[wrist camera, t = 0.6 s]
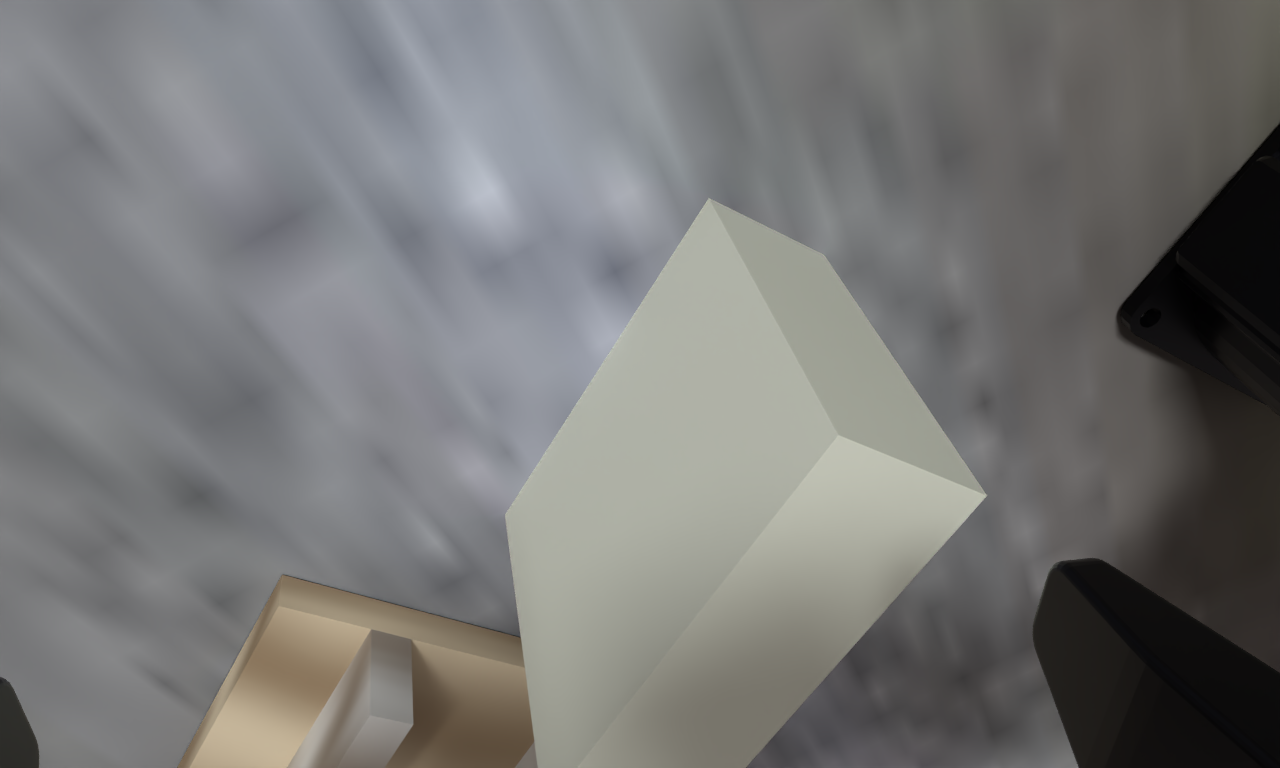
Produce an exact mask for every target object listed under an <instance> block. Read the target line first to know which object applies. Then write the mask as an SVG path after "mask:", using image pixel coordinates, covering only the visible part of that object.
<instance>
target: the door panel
mask: <svg viewBox="0 0 1280 768" xmlns="http://www.w3.org/2000/svg"><path fill="white" fill-rule="evenodd" d="M986 496H987V495H986V493H985V492H984V490H983V489H982V487H981V486H980V485H979V483H978V482H977V480H976V479H975V477H974V476H973V474H972V473H971V471H970V470H969V468H968V467H967V465H966V464H965V462H964V461H963V459H962V458H961V456H960V455H959V454H958V452H957V451H956V449H955V448H954V446H953V445H952V443H951V442H950V440H949V439H948V437H947V436H946V434H945V433H944V431H943V430H942V428H941V427H940V425H939V424H938V423H937V421H936V420H935V418H934V417H933V415H932V414H931V412H930V411H929V409H928V408H927V406H926V405H925V403H924V402H923V400H922V399H921V397H920V396H919V394H918V393H917V392H916V390H915V389H914V387H913V386H912V384H911V383H910V381H909V380H908V378H907V377H906V375H905V374H904V372H903V371H902V369H901V368H900V366H899V365H898V363H897V362H896V361H895V359H894V358H893V356H892V355H891V353H890V352H889V350H888V349H887V347H886V346H885V344H884V343H883V341H882V340H881V338H880V337H879V335H878V334H877V332H876V331H875V330H874V328H873V327H872V325H871V324H870V322H869V321H868V319H867V318H866V316H865V315H864V313H863V312H862V310H861V309H860V307H859V306H858V304H857V303H856V301H855V300H854V299H853V297H852V296H851V294H850V293H849V291H848V290H847V288H846V287H845V285H844V284H843V282H842V281H841V279H840V278H839V276H838V275H837V273H836V272H835V270H834V269H833V268H832V266H831V265H830V263H829V262H828V260H827V259H826V257H825V256H824V255H823V254H821V253H819V252H817V251H815V250H813V249H811V248H809V247H807V246H805V245H803V244H801V243H799V242H797V241H795V240H793V239H791V238H789V237H787V236H785V235H783V234H781V233H778V232H776V231H774V230H772V229H770V228H768V227H766V226H764V225H762V224H760V223H758V222H756V221H754V220H752V219H750V218H748V217H746V216H744V215H742V214H740V213H738V212H736V211H734V210H732V209H730V208H728V207H726V206H724V205H722V204H720V203H718V202H716V201H714V200H712V199H710V198H709V199H708V200H707V202H706V203H705V205H704V206H703V208H702V210H701V211H700V213H699V214H698V216H697V217H696V219H695V220H694V222H693V224H692V225H691V227H690V228H689V230H688V231H687V233H686V234H685V236H684V238H683V239H682V241H681V242H680V244H679V245H678V247H677V248H676V250H675V251H674V253H673V255H672V256H671V258H670V259H669V261H668V262H667V264H666V265H665V267H664V269H663V270H662V272H661V273H660V275H659V276H658V278H657V279H656V281H655V283H654V284H653V286H652V287H651V289H650V290H649V292H648V293H647V295H646V297H645V298H644V300H643V301H642V303H641V304H640V306H639V307H638V309H637V311H636V312H635V314H634V315H633V317H632V318H631V320H630V321H629V323H628V325H627V326H626V328H625V329H624V331H623V332H622V334H621V335H620V337H619V338H618V340H617V342H616V343H615V345H614V346H613V348H612V349H611V351H610V352H609V354H608V356H607V357H606V359H605V360H604V362H603V363H602V365H601V366H600V368H599V370H598V371H597V373H596V374H595V376H594V377H593V379H592V380H591V382H590V384H589V385H588V387H587V388H586V390H585V391H584V393H583V394H582V396H581V398H580V399H579V401H578V402H577V404H576V405H575V407H574V408H573V410H572V412H571V413H570V415H569V416H568V418H567V419H566V421H565V422H564V424H563V425H562V427H561V429H560V430H559V432H558V433H557V435H556V436H555V438H554V439H553V441H552V443H551V444H550V446H549V447H548V449H547V450H546V452H545V453H544V455H543V457H542V458H541V460H540V461H539V463H538V464H537V466H536V467H535V469H534V471H533V472H532V474H531V475H530V477H529V478H528V480H527V481H526V483H525V485H524V486H523V488H522V489H521V491H520V492H519V494H518V495H517V497H516V499H515V500H514V502H513V503H512V505H511V506H510V508H509V509H508V511H507V513H506V514H505V520H506V527H507V535H508V543H509V550H510V558H511V566H512V573H513V581H514V589H515V596H516V604H517V612H518V619H519V627H520V635H521V642H522V650H523V657H524V665H525V673H526V680H527V688H528V696H529V703H530V711H531V719H532V726H533V734H534V742H535V749H536V757H537V765H538V768H746V767H747V766H748V765H749V763H750V762H751V761H752V760H753V759H754V758H755V757H756V756H757V754H758V753H759V752H760V751H761V750H762V749H763V748H764V747H765V745H766V744H767V743H768V742H769V741H770V740H771V739H772V738H773V736H774V735H775V734H776V733H777V732H778V731H779V730H780V729H781V727H782V726H783V725H784V724H785V723H786V722H787V721H788V720H789V718H790V717H791V716H792V715H793V714H794V713H795V712H796V710H797V709H798V708H799V707H800V706H801V705H802V704H803V703H804V701H805V700H806V699H807V698H808V697H809V696H810V695H811V694H812V692H813V691H814V690H815V689H816V688H817V687H818V686H819V685H820V683H821V682H822V681H823V680H824V679H825V678H826V677H827V676H828V674H829V673H830V672H831V671H832V670H833V669H834V668H835V667H836V665H837V664H838V663H839V662H840V661H841V660H842V659H843V657H844V656H845V655H846V654H847V653H848V652H849V651H850V650H851V648H852V647H853V646H854V645H855V644H856V643H857V642H858V641H859V639H860V638H861V637H862V636H863V635H864V634H865V633H866V632H867V630H868V629H869V628H870V627H871V626H872V625H873V624H874V623H875V621H876V620H877V619H878V618H879V617H880V616H881V615H882V614H883V612H884V611H885V610H886V609H887V608H888V607H889V606H890V604H891V603H892V602H893V601H894V600H895V599H896V598H897V597H898V595H899V594H900V593H901V592H902V591H903V590H904V589H905V588H906V586H907V585H908V584H909V583H910V582H911V581H912V580H913V579H914V577H915V576H916V575H917V574H918V573H919V572H920V571H921V570H922V568H923V567H924V566H925V565H926V564H927V563H928V562H929V560H930V559H931V558H932V557H933V556H934V555H935V554H936V553H937V551H938V550H939V549H940V548H941V547H942V546H943V545H944V544H945V542H946V541H947V540H948V539H949V538H950V537H951V536H952V535H953V533H954V532H955V531H956V530H957V529H958V528H959V527H960V526H961V524H962V523H963V522H964V521H965V520H966V519H967V518H968V517H969V515H970V514H971V513H972V512H973V511H974V510H975V509H976V507H977V506H978V505H979V504H980V503H981V502H982V501H983V500H984V498H985V497H986Z"/></svg>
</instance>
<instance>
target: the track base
mask: <svg viewBox="0 0 1280 768" xmlns="http://www.w3.org/2000/svg"><path fill="white" fill-rule="evenodd" d="M177 768H538V765H537V757H536V749H535V742H534V734H533V726H532V719H531V711H530V703H529V696H528V688H527V680H526V673H525V665H524V657H523V650H522V642H521V638H520V637H516V636H512V635H508V634H505V633H501V632H497V631H493V630H490V629H486V628H482V627H478V626H474V625H471V624H467V623H463V622H459V621H455V620H452V619H448V618H444V617H440V616H437V615H433V614H429V613H425V612H421V611H418V610H414V609H410V608H406V607H403V606H399V605H395V604H391V603H387V602H384V601H380V600H376V599H372V598H368V597H365V596H361V595H357V594H353V593H350V592H346V591H342V590H338V589H334V588H331V587H327V586H323V585H319V584H316V583H312V582H308V581H304V580H300V579H297V578H293V577H289V576H285V575H282V576H281V578H280V580H279V581H278V583H277V585H276V587H275V589H274V591H273V593H272V594H271V596H270V598H269V600H268V602H267V604H266V605H265V607H264V609H263V611H262V613H261V615H260V616H259V618H258V620H257V622H256V624H255V626H254V627H253V629H252V631H251V633H250V635H249V637H248V638H247V640H246V642H245V644H244V646H243V648H242V650H241V651H240V653H239V655H238V657H237V659H236V661H235V662H234V664H233V666H232V668H231V670H230V672H229V673H228V675H227V677H226V679H225V681H224V683H223V684H222V686H221V688H220V690H219V692H218V694H217V695H216V697H215V699H214V701H213V703H212V705H211V707H210V708H209V710H208V712H207V714H206V716H205V718H204V719H203V721H202V723H201V725H200V727H199V729H198V730H197V732H196V734H195V736H194V738H193V740H192V741H191V743H190V745H189V747H188V749H187V751H186V752H185V754H184V756H183V758H182V760H181V762H180V764H179V765H178V767H177Z"/></svg>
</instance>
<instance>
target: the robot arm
mask: <svg viewBox="0 0 1280 768" xmlns="http://www.w3.org/2000/svg"><path fill="white" fill-rule="evenodd" d="M1148 310H1150V311H1149V313H1148V314H1147V315H1145V316H1144V317H1142V315H1143V314H1144V313H1145V312H1146V311H1148ZM1141 317H1142V318H1141ZM1121 320H1122V322H1123V323H1124V324H1125V325H1126V326H1127V327H1128V328H1129V329H1130V330H1131V331H1132V332H1133V333H1134V334H1135V335H1136V336H1138V337H1140V338H1142V339H1144V340H1146V341H1148V342H1150V343H1151V344H1153V345H1155V346H1157V347H1159V348H1161V349H1163V350H1164V351H1166V352H1168V353H1170V354H1172V355H1174V356H1176V357H1177V358H1179V359H1181V360H1183V361H1185V362H1187V363H1189V364H1191V365H1192V366H1194V367H1196V368H1198V369H1200V370H1202V371H1204V372H1205V373H1207V374H1209V375H1211V376H1213V377H1215V378H1217V379H1218V380H1220V381H1222V382H1224V383H1226V384H1228V385H1230V386H1232V387H1233V388H1235V389H1237V390H1239V391H1241V392H1243V393H1245V394H1246V395H1248V396H1250V397H1252V398H1254V399H1256V400H1258V401H1260V402H1261V403H1263V404H1265V405H1267V406H1269V407H1270V408H1271V409H1272V410H1273V411H1274V412H1275V413H1276V414H1277V415H1278V416H1280V126H1279V127H1278V129H1277V130H1276V131H1275V132H1274V133H1273V134H1272V135H1271V137H1270V138H1269V139H1268V140H1267V141H1266V142H1265V144H1264V145H1263V146H1262V147H1261V148H1260V149H1259V150H1258V152H1257V153H1256V154H1255V155H1254V156H1253V157H1252V158H1251V160H1250V161H1249V162H1248V163H1247V164H1246V165H1245V166H1244V168H1243V169H1242V170H1241V171H1240V172H1239V173H1238V174H1237V176H1236V177H1235V178H1234V179H1233V180H1232V181H1231V182H1230V184H1229V185H1228V186H1227V187H1226V188H1225V189H1224V191H1223V192H1222V193H1221V194H1220V195H1219V196H1218V197H1217V199H1216V200H1215V201H1214V202H1213V203H1212V204H1211V205H1210V207H1209V208H1208V209H1207V210H1206V211H1205V212H1204V213H1203V215H1202V216H1201V217H1200V218H1199V219H1198V220H1197V221H1196V223H1195V224H1194V225H1193V226H1192V227H1191V228H1190V229H1189V231H1188V232H1187V233H1186V234H1185V235H1184V236H1183V238H1182V239H1181V240H1180V241H1179V242H1178V243H1177V244H1176V246H1175V247H1174V248H1173V249H1172V250H1171V251H1170V252H1169V254H1168V255H1167V256H1166V257H1165V258H1164V259H1163V260H1162V262H1161V263H1160V264H1159V265H1158V266H1157V267H1156V268H1155V270H1154V271H1153V272H1152V273H1151V274H1150V275H1149V277H1148V278H1147V279H1146V280H1145V281H1144V282H1143V283H1142V285H1141V286H1140V287H1139V288H1138V289H1137V290H1136V291H1135V293H1134V294H1133V295H1132V296H1131V297H1130V298H1129V299H1128V301H1127V302H1126V303H1125V305H1124V306H1123V308H1122V311H1121ZM1033 642H1034V646H1035V650H1036V653H1037V656H1038V658H1039V661H1040V664H1041V667H1042V669H1043V672H1044V675H1045V677H1046V680H1047V683H1048V685H1049V688H1050V691H1051V694H1052V696H1053V699H1054V702H1055V704H1056V707H1057V710H1058V713H1059V715H1060V718H1061V721H1062V723H1063V726H1064V729H1065V732H1066V734H1067V737H1068V740H1069V742H1070V745H1071V748H1072V750H1073V753H1074V756H1075V759H1076V761H1077V764H1078V767H1079V768H1280V673H1279V672H1277V671H1276V670H1274V669H1273V668H1271V667H1270V666H1268V665H1267V664H1265V663H1263V662H1262V661H1260V660H1259V659H1257V658H1256V657H1254V656H1252V655H1251V654H1249V653H1248V652H1246V651H1245V650H1243V649H1241V648H1240V647H1238V646H1237V645H1235V644H1234V643H1232V642H1230V641H1229V640H1227V639H1226V638H1224V637H1223V636H1221V635H1220V634H1218V633H1216V632H1215V631H1213V630H1212V629H1210V628H1209V627H1207V626H1205V625H1204V624H1202V623H1201V622H1199V621H1198V620H1196V619H1194V618H1193V617H1191V616H1190V615H1188V614H1187V613H1185V612H1183V611H1182V610H1180V609H1179V608H1177V607H1176V606H1174V605H1172V604H1171V603H1169V602H1168V601H1166V600H1165V599H1163V598H1162V597H1160V596H1158V595H1157V594H1155V593H1154V592H1152V591H1151V590H1149V589H1147V588H1146V587H1144V586H1143V585H1141V584H1140V583H1138V582H1136V581H1135V580H1133V579H1132V578H1130V577H1129V576H1127V575H1125V574H1124V573H1122V572H1121V571H1119V570H1118V569H1116V568H1115V567H1113V566H1111V565H1110V564H1108V563H1106V562H1104V561H1103V560H1100V559H1096V558H1086V559H1077V560H1068V561H1060V562H1058V563H1056V564H1054V565H1053V567H1052V568H1051V569H1050V571H1049V573H1048V576H1047V579H1046V582H1045V586H1044V589H1043V592H1042V595H1041V599H1040V602H1039V605H1038V609H1037V612H1036V615H1035V618H1034V622H1033ZM0 768H39V749H38V744H37V740H36V737H35V735H34V733H33V731H32V728H31V726H30V724H29V722H28V720H27V717H26V715H25V713H24V711H23V709H22V707H21V704H20V702H19V700H18V698H17V696H16V693H15V691H14V689H13V687H12V686H11V684H10V683H9V682H8V681H7V680H6V679H4V678H1V677H0Z"/></svg>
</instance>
